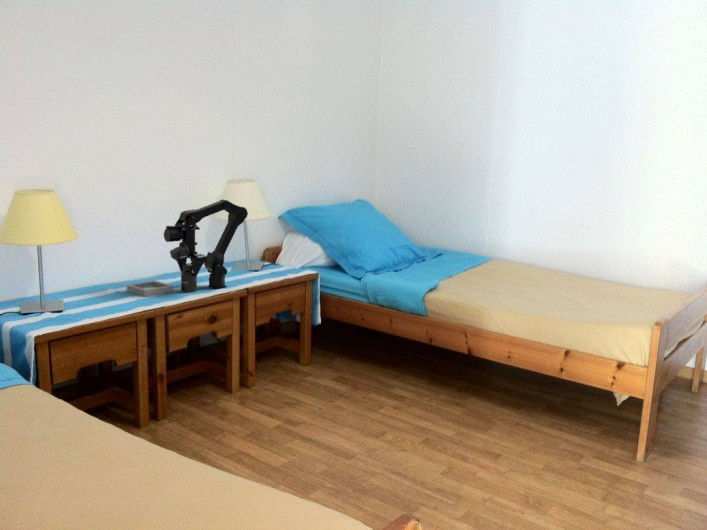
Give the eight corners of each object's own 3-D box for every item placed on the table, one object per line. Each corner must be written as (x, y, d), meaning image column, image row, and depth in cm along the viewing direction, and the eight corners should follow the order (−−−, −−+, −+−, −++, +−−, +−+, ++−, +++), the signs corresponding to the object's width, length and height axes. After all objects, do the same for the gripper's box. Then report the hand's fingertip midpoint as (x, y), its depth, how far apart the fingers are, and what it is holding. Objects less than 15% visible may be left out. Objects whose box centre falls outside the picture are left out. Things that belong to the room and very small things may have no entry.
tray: (155, 286, 309) (154, 280, 308) (173, 291, 300) (173, 285, 299) (127, 290, 298) (126, 284, 298) (145, 296, 289) (145, 290, 289)
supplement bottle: (180, 292, 298) (180, 265, 296) (181, 289, 305) (181, 262, 303) (196, 292, 300) (196, 265, 297) (197, 289, 306) (196, 262, 304)
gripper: (160, 239, 298) (160, 274, 301) (185, 245, 286) (186, 281, 289) (181, 236, 306) (182, 271, 309) (207, 242, 294) (207, 277, 297)
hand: (188, 275), depth 301 cm, fingers open, 9 cm apart
